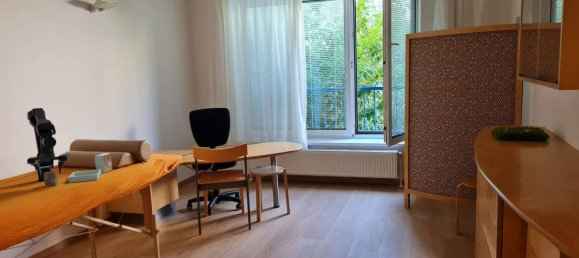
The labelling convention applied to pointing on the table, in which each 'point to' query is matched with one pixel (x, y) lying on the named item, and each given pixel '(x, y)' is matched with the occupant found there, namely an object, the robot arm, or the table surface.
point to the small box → (103, 162)
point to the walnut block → (50, 178)
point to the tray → (84, 175)
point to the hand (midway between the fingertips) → (50, 175)
